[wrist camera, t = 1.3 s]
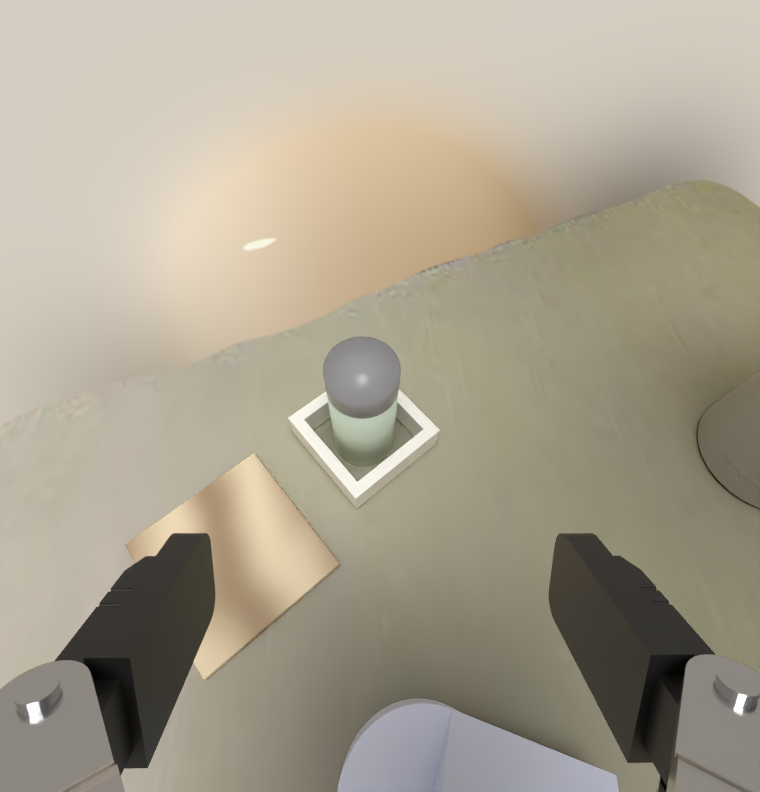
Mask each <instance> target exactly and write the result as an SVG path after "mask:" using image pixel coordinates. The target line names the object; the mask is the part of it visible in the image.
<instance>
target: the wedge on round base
mask: <svg viewBox="0 0 760 792" xmlns="http://www.w3.org/2000/svg"><path fill="white" fill-rule="evenodd" d="M337 792H619V788H618V783H617V777H616V775H614V774H612V773H609V772H607V771H605V770H602V769H600V768H597V767H595V766H592V765H590V764H587V763H585V762H582V761H580V760H577V759H575V758H572V757H570V756H567V755H565V754H562V753H560V752H557V751H555V750H553V749H550V748H548V747H545V746H543V745H540V744H538V743H535V742H533V741H530V740H528V739H525V738H523V737H520V736H518V735H515V734H513V733H510V732H508V731H505V730H503V729H501V728H498V727H496V726H493V725H491V724H488V723H486V722H483V721H481V720H478V719H476V718H473V717H471V716H468V715H466V714H463V713H461V712H459V711H457V710H456V709H454V708H452V707H450V706H448V705H446V704H444V703H441V702H438V701H435V700H431V699H424V698H412V699H406V700H401V701H398V702H395V703H392V704H390V705H388V706H387V707H385V708H383V709H381V710H380V711H379V712H377V713H376V714H375V715H373V716H372V717H371V718H370V719H369V720H368V721H367V722H366V723H365V724H364V726H363V727H362V728H361V729H360V731H359V732H358V733H357V735H356V737H355V739H354V740H353V742H352V744H351V746H350V748H349V750H348V753H347V755H346V758H345V761H344V764H343V767H342V771H341V775H340V779H339V783H338V788H337Z"/></svg>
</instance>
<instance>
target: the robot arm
mask: <svg viewBox="0 0 760 792" xmlns="http://www.w3.org/2000/svg"><path fill="white" fill-rule="evenodd" d="M697 433H698V444H699V448H700V451H701V454H702V457H703V459H704V460H705V462H706V464H707V466H708V468H709V469H710V471H711V472H712V473H713V475H714V476H715V477H716V478H717V480H718V481H719V482H720V483H721V484H722V485H723V486H724V487H726V488H727V489H728V490H729V491H730V492H731V493H733V494H734V495H736V496H737V497H739V498H740V499H741V500H743V501H745V502H747V503H749V504H751V505H753V506H755V507H758V508H760V371H759V372H758V373H756V374H755V375H754V376H752V377H751V378H749V379H748V380H746V381H745V382H743V383H742V384H741V385H739V386H738V387H737V388H735V389H734V390H732V391H731V392H730V393H728V394H727V395H726V396H724V397H723V398H721V399H720V400H719V401H717V402H716V403H715V404H713V405H712V406H711V407H710V408H709V409H708V410H707V411H706V412H705V413H704V414H703V416H702V418H701V420H700V422H699V427H698V432H697ZM549 603H550V609H551V613H552V616H553V619H554V621H555V623H556V625H557V627H558V629H559V631H560V632H561V634H562V636H563V638H564V640H565V642H566V644H567V646H568V648H569V650H570V652H571V654H572V656H573V658H574V660H575V661H576V663H577V665H578V667H579V669H580V671H581V673H582V675H583V677H584V679H585V681H586V683H587V685H588V687H589V689H590V690H591V692H592V694H593V696H594V698H595V700H596V702H597V704H598V706H599V708H600V710H601V712H602V714H603V716H604V718H605V720H606V721H607V723H608V725H609V727H610V729H611V731H612V733H613V735H614V737H615V739H616V741H617V743H618V745H619V747H620V749H621V750H622V752H623V754H624V756H625V758H626V760H627V762H628V763H645V762H653V763H654V765H655V767H656V769H657V770H658V772H659V774H660V777H659V781H658V785H657V790H656V792H760V673H759V672H757V671H756V670H754V669H752V668H750V667H749V666H747V665H745V664H743V663H740V662H738V661H736V660H733V659H730V658H727V657H723V656H718V655H715V653H714V652H713V651H712V650H711V649H710V648H709V647H708V645H707V644H706V643H705V642H704V641H703V640H702V639H701V638H700V636H699V635H698V634H697V633H696V632H695V631H694V630H693V628H692V627H691V626H690V625H689V624H688V623H687V622H686V620H685V619H684V618H683V617H682V616H681V615H680V614H679V613H678V611H677V610H676V609H675V608H674V607H673V606H672V605H669V601H668V600H667V599H666V598H665V597H664V595H663V594H662V593H661V592H660V591H659V590H656V586H655V585H654V584H653V583H652V582H651V581H650V580H649V578H648V577H647V576H646V575H645V574H644V573H643V572H642V570H640V569H639V568H637V567H636V566H634V565H633V564H631V563H630V562H628V561H627V560H625V559H624V558H622V557H621V556H613V555H612V554H611V553H610V552H609V551H608V549H607V548H606V547H605V546H604V544H603V543H602V542H601V541H600V540H599V538H598V537H597V536H596V535H594V534H592V533H583V534H559V535H558V536H557V538H556V542H555V549H554V556H553V564H552V571H551V579H550V586H549ZM214 606H215V581H214V571H213V560H212V550H211V541H210V537H209V535H208V534H207V533H173V534H172V535H170V537H169V538H168V539H167V541H166V542H165V544H164V545H163V546H162V548H161V549H160V551H159V552H158V553H157V555H156V556H145V557H144V558H142V559H141V560H139V561H138V562H137V563H135V564H134V565H132V566H131V567H129V568H128V569H127V570H125V571H124V572H123V574H122V575H121V576H120V578H119V579H118V580H117V581H116V583H115V584H114V585H113V587H112V588H111V592H108V593H107V594H106V596H105V597H104V598H103V599H102V601H101V602H100V605H99V607H96V608H95V610H94V611H93V612H92V614H91V615H90V616H89V617H88V619H87V620H86V621H85V623H84V624H83V625H82V626H81V628H80V629H79V630H78V632H77V633H76V634H75V636H74V637H73V638H72V639H71V641H70V642H69V643H68V645H67V646H66V647H65V648H64V650H63V651H62V652H61V654H60V655H59V656H58V657H57V659H56V660H55V661H54V662H50V663H46V664H43V665H40V666H37V667H35V668H33V669H30V670H28V671H26V672H24V673H23V674H21V675H19V676H17V677H16V678H14V679H13V680H11V681H10V682H9V683H7V684H6V685H5V686H4V687H2V688H1V689H0V792H125V791H124V787H123V783H122V780H121V774H122V772H123V770H124V768H148V766H149V764H150V761H151V759H152V757H153V754H154V752H155V750H156V747H157V745H158V743H159V740H160V738H161V736H162V733H163V731H164V729H165V726H166V724H167V722H168V720H169V717H170V715H171V713H172V710H173V708H174V706H175V703H176V701H177V699H178V696H179V694H180V692H181V689H182V687H183V685H184V682H185V680H186V678H187V675H188V673H189V671H190V668H191V666H192V664H193V661H194V659H195V657H196V654H197V652H198V650H199V648H200V645H201V643H202V641H203V638H204V636H205V634H206V631H207V629H208V627H209V624H210V622H211V619H212V616H213V612H214Z"/></svg>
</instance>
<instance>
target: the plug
mask: <svg viewBox="0 0 760 792" xmlns="http://www.w3.org/2000/svg"><path fill="white" fill-rule="evenodd" d="M400 372H401V367H400V362H399V359H398V357H397V355H396V353H395V352H394V350H393V349H392V348H391V347H390V346H388V345H387V344H386V343H384V342H382V341H380V340H378V339H375V338H371V337H354V338H350V339H346V340H344V341H342V342H340V343H338V344H337V345H336V346H334V347H333V348H332V349H331V350H330V352H329V353H328V355H327V356H326V359H325V361H324V365H323V375H324V381H325V387H326V393H327V399H328V405H329V411H330V417H331V423H332V428H333V434H334V440H335V445H336V449H337V451H338V453H339V454H340V455H341V457H342V458H343V459H345V460H346V461H347V462H349V463H351V464H354V465H357V466H370V465H374V464H377V463H378V462H380V461H382V460H383V459H384V458H385V457H386V456H387V455H388V454H389V452H390V450H391V448H392V445H393V438H394V429H395V419H396V410H397V401H398V391H399V382H400Z"/></svg>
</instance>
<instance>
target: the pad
mask: <svg viewBox="0 0 760 792" xmlns="http://www.w3.org/2000/svg"><path fill="white" fill-rule="evenodd" d="M173 533H207V534H208V535H209V537H210V541H211V550H212V560H213V571H214V581H215V606H214V612H213V616H212V619H211V622H210V624H209V627H208V629H207V631H206V634H205V636H204V638H203V641H202V643H201V645H200V648H199V650H198V652H197V654H196V657H195V659H194V661H193V662H194V664H195V666H196V667H197V669H198V671H199V672H200V674H201V676H202V678H203V679H204V680H207V679H208V678H209V677H210V676H212V675H213V674H214V673H215V672H216V671H217V670H219V669H220V668H221V667H222V666H223V665H224V664H226V663H227V662H228V661H229V660H230V659H231V658H233V657H234V656H235V655H236V654H237V653H238V652H240V651H241V650H242V649H243V648H244V647H245V646H247V645H248V644H249V643H250V642H251V641H252V640H254V639H255V638H256V637H257V636H258V635H259V634H261V633H262V632H263V631H264V630H265V629H266V628H267V627H269V626H270V625H271V624H272V623H273V622H274V621H276V620H277V619H278V618H279V617H280V616H281V615H283V614H284V613H285V612H286V611H287V610H288V609H290V608H291V607H292V606H293V605H294V604H295V603H297V602H298V601H299V600H300V599H301V598H302V597H304V596H305V595H306V594H307V593H308V592H309V591H311V590H312V589H313V588H314V587H315V586H316V585H318V584H319V583H320V582H321V581H322V580H323V579H325V578H326V577H327V576H328V575H329V574H330V573H332V572H333V571H334V570H335V569H336V568H337V567H339V566H340V564H339V563H338V561H337V560H336V559H335V557H334V556H333V555H332V554H331V552H330V551H329V550H328V548H327V547H326V546H325V544H324V543H323V542H322V541H321V539H320V538H319V537H318V535H317V534H316V533H315V532H314V530H313V529H312V528H311V526H310V525H309V524H308V522H307V521H306V520H305V519H304V517H303V516H302V515H301V513H300V512H299V511H298V510H297V508H296V507H295V506H294V504H293V503H292V502H291V500H290V499H289V498H288V497H287V495H286V494H285V493H284V491H283V490H282V489H281V488H280V486H279V485H278V484H277V482H276V481H275V480H274V478H273V477H272V476H271V475H270V473H269V472H268V471H267V469H266V468H265V467H264V466H263V464H262V463H261V462H260V460H259V459H258V458H257V456H256V455H255V454H252V455H251V456H249V457H248V458H246V459H245V460H244V461H242V462H241V463H239V464H238V465H237V466H235V467H234V468H232V469H231V470H230V471H228V472H227V473H225V474H224V475H223V476H221V477H220V478H218V479H217V480H216V481H214V482H213V483H211V484H210V485H209V486H207V487H206V488H204V489H203V490H202V491H200V492H199V493H197V494H196V495H194V496H193V497H192V498H190V499H189V500H187V501H186V502H185V503H183V504H182V505H180V506H179V507H178V508H176V509H175V510H173V511H172V512H171V513H169V514H168V515H166V516H165V517H164V518H162V519H161V520H159V521H158V522H157V523H155V524H154V525H152V526H151V527H150V528H148V529H147V530H145V531H144V532H142V533H141V534H140V535H138V536H137V537H135V538H134V539H133V540H131V541H130V542H128V543H127V544H126V545H125V546H126V548H127V549H128V551H129V553H130V554H131V556H132V558H133V560H134V561H135V563H137V562H138V561H139V560H141V559H142V558H144V557H145V556H156V555H157V553H158V552H159V551H160V549H161V548H162V546H163V545H164V544H165V542H166V541H167V539H168V538H169V537H170V535H172V534H173Z"/></svg>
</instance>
